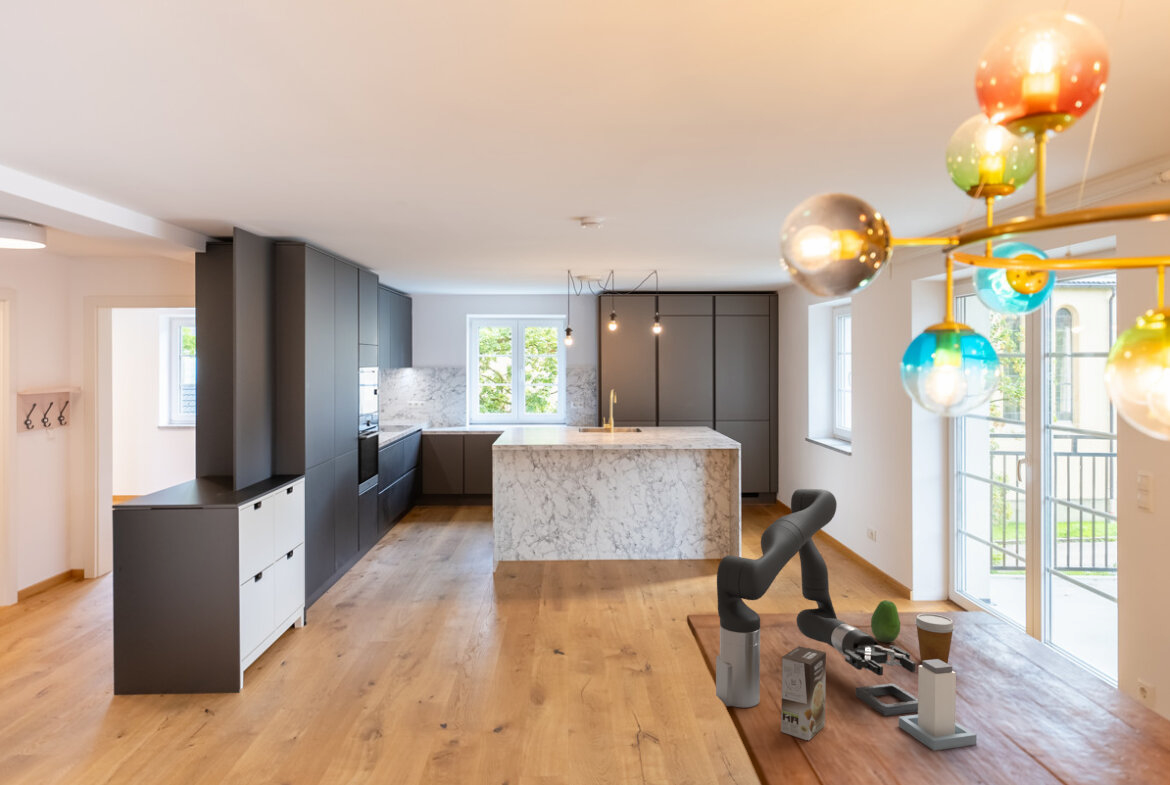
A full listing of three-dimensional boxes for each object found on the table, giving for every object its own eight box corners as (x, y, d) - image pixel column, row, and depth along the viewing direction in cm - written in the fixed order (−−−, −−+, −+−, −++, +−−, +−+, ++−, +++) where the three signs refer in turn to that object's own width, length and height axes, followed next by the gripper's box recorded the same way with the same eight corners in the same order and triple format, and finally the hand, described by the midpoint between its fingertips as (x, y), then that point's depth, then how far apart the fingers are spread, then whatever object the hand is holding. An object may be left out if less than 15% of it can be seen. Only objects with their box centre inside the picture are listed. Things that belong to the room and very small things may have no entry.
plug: (934, 742, 144) (935, 669, 144) (917, 730, 149) (918, 659, 149) (955, 739, 145) (956, 667, 145) (937, 728, 150) (938, 657, 150)
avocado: (905, 646, 197) (906, 603, 197) (880, 647, 196) (880, 605, 196) (889, 635, 205) (890, 595, 205) (864, 637, 204) (865, 596, 204)
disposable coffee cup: (962, 668, 182) (963, 622, 182) (935, 673, 178) (936, 627, 178) (932, 654, 191) (932, 611, 191) (906, 659, 187) (906, 615, 187)
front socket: (933, 750, 141) (933, 740, 141) (898, 726, 151) (898, 716, 151) (976, 744, 143) (976, 734, 143) (939, 720, 153) (939, 711, 153)
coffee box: (809, 742, 144) (810, 664, 144) (780, 732, 148) (780, 657, 148) (825, 725, 151) (826, 651, 151) (797, 716, 155) (798, 644, 155)
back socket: (884, 716, 155) (884, 707, 155) (855, 695, 165) (855, 687, 165) (924, 711, 158) (924, 702, 158) (893, 691, 168) (893, 683, 168)
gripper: (829, 631, 172) (871, 656, 157) (878, 626, 176) (924, 650, 160) (828, 661, 173) (870, 689, 157) (878, 656, 176) (924, 683, 160)
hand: (897, 669), depth 159 cm, fingers open, 8 cm apart
